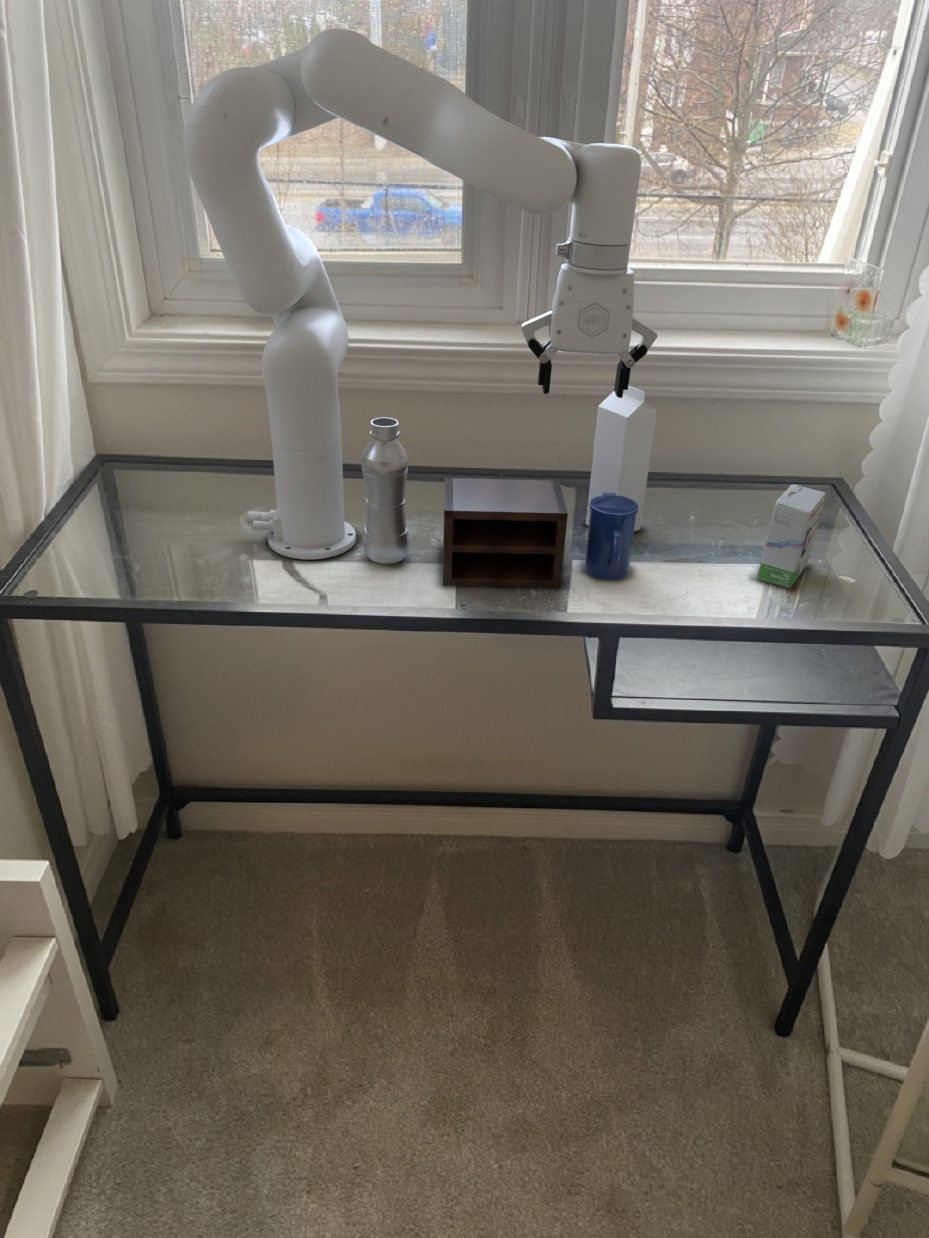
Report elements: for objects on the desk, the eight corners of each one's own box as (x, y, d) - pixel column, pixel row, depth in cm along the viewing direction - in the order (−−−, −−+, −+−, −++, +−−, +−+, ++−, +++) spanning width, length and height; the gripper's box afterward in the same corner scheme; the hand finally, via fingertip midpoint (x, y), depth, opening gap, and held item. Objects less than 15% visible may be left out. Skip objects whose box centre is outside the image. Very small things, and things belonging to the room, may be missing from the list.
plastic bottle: (374, 573, 132) (371, 433, 122) (356, 552, 137) (351, 417, 127) (417, 564, 135) (417, 427, 125) (397, 544, 140) (396, 411, 130)
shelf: (442, 585, 130) (444, 510, 124) (443, 548, 139) (444, 477, 134) (560, 587, 130) (567, 513, 125) (553, 551, 140) (559, 480, 134)
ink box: (773, 557, 140) (789, 481, 134) (808, 566, 138) (827, 490, 132) (755, 580, 134) (771, 501, 128) (792, 590, 132) (810, 511, 126)
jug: (588, 589, 130) (595, 522, 125) (579, 555, 139) (585, 490, 134) (636, 590, 130) (646, 523, 125) (624, 556, 139) (632, 492, 134)
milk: (612, 539, 144) (630, 395, 132) (584, 524, 148) (599, 384, 136) (641, 529, 147) (660, 388, 136) (613, 515, 151) (629, 377, 140)
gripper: (529, 258, 114) (517, 398, 123) (673, 266, 115) (651, 405, 124) (526, 246, 121) (515, 380, 130) (662, 254, 121) (642, 387, 130)
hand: (581, 392), depth 127 cm, fingers open, 9 cm apart
